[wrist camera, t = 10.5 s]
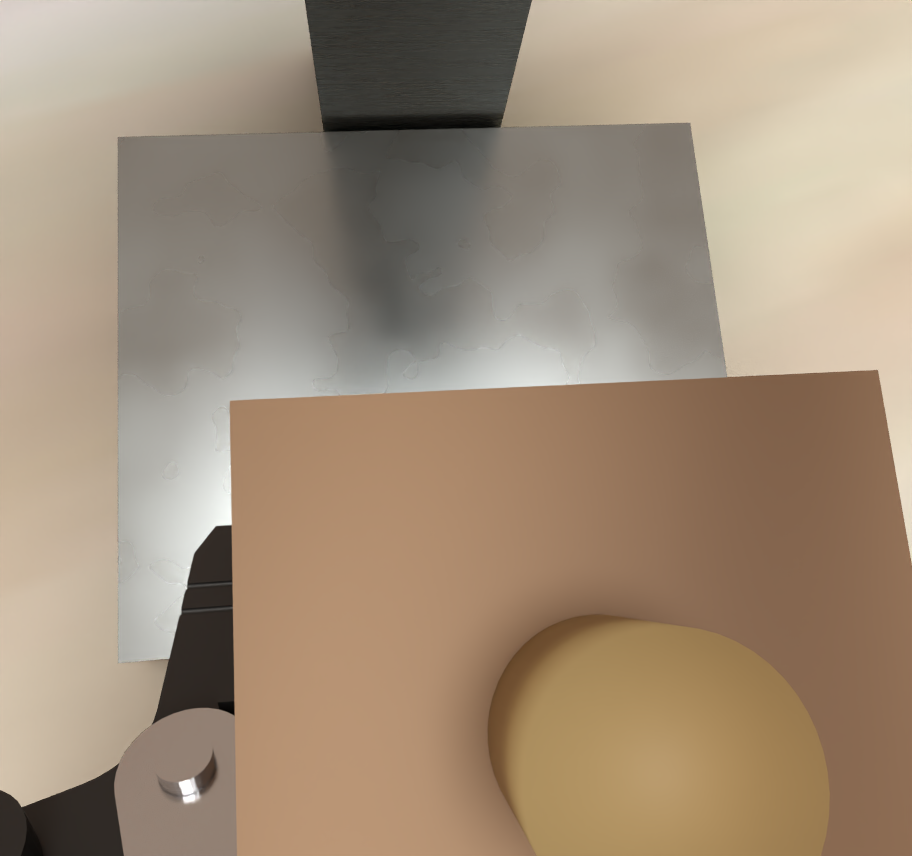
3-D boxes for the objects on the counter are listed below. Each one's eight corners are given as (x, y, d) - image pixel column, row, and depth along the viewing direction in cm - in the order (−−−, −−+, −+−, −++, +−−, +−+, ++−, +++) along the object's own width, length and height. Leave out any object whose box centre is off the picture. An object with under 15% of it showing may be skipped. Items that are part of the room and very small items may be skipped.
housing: (338, 784, 15) (180, 1477, 3) (328, 514, 15) (176, 337, 4) (602, 759, 15) (1241, 1288, 4) (577, 499, 16) (1029, 305, 5)
